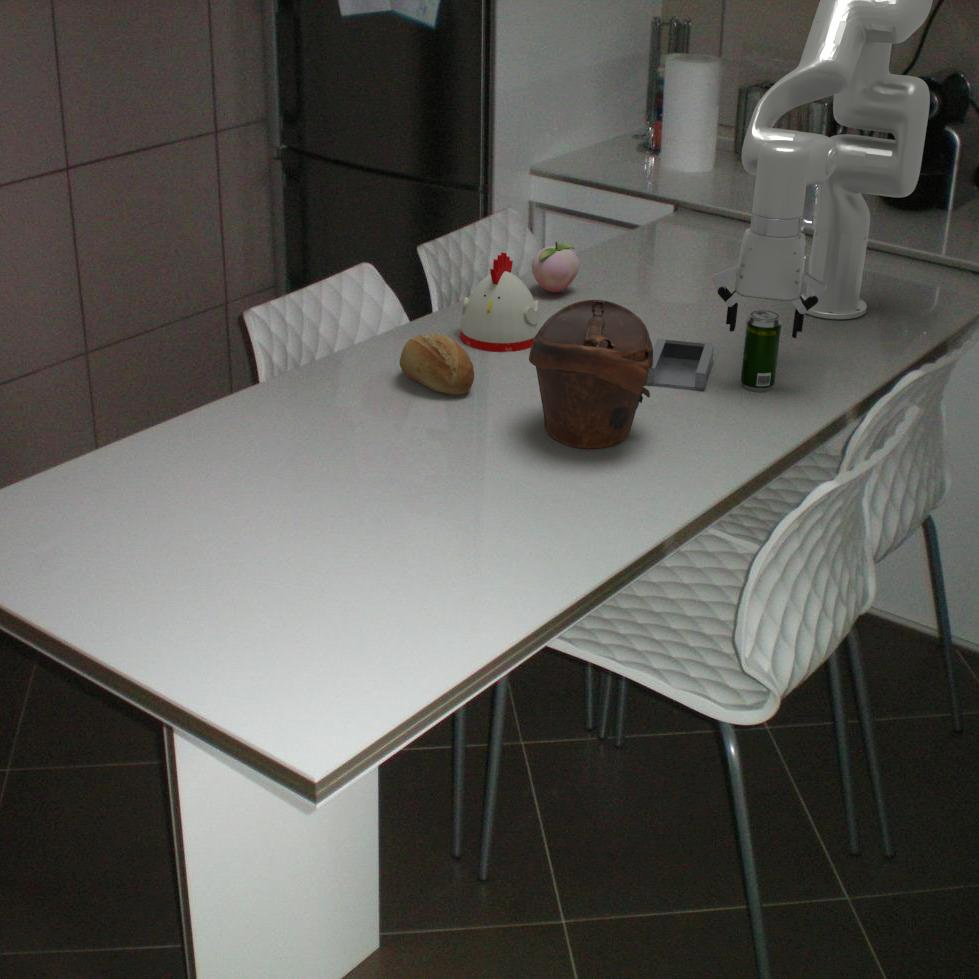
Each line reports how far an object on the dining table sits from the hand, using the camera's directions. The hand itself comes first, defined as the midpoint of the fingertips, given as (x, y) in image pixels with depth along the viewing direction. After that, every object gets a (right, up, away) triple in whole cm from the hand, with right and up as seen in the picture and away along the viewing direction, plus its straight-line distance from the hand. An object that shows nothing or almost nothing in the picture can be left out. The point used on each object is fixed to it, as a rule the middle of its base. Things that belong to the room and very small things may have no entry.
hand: (763, 332), depth 216 cm
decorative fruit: (-31, +12, +44) cm, 55 cm away
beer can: (0, -8, +5) cm, 10 cm away
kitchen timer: (-41, +2, +23) cm, 47 cm away
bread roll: (-51, -8, +5) cm, 52 cm away
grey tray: (-12, -6, +10) cm, 16 cm away
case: (-28, -16, -11) cm, 34 cm away
